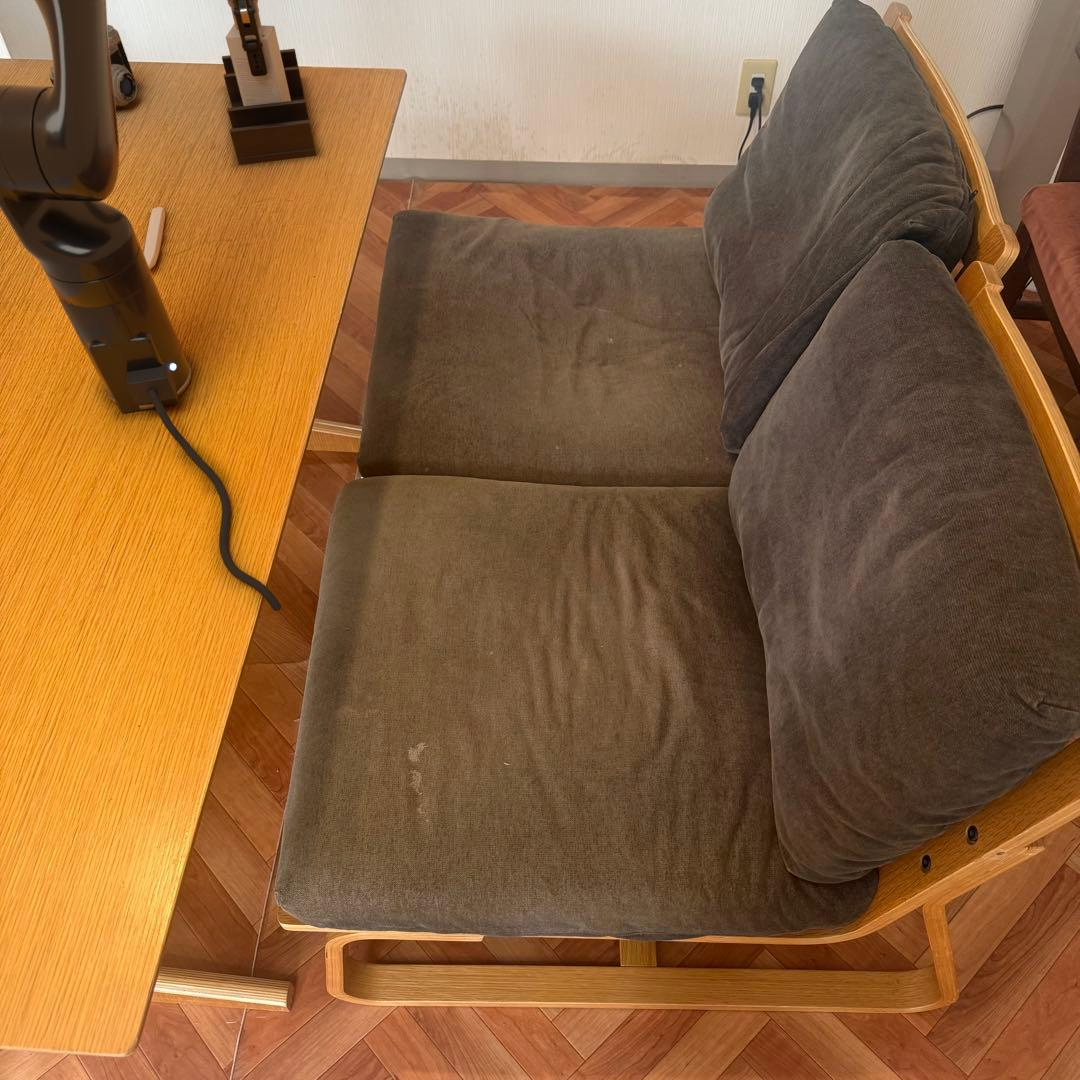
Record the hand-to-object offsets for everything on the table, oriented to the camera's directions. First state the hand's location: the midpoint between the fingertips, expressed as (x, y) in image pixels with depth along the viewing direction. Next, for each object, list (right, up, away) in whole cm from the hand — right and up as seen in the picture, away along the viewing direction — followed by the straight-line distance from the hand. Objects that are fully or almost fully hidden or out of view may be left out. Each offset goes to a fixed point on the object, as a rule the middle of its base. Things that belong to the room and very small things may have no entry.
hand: (258, 64), depth 128 cm
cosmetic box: (0, -4, +6) cm, 8 cm away
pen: (-10, -29, -11) cm, 33 cm away
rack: (0, -5, +7) cm, 8 cm away
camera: (-25, -2, +8) cm, 26 cm away
